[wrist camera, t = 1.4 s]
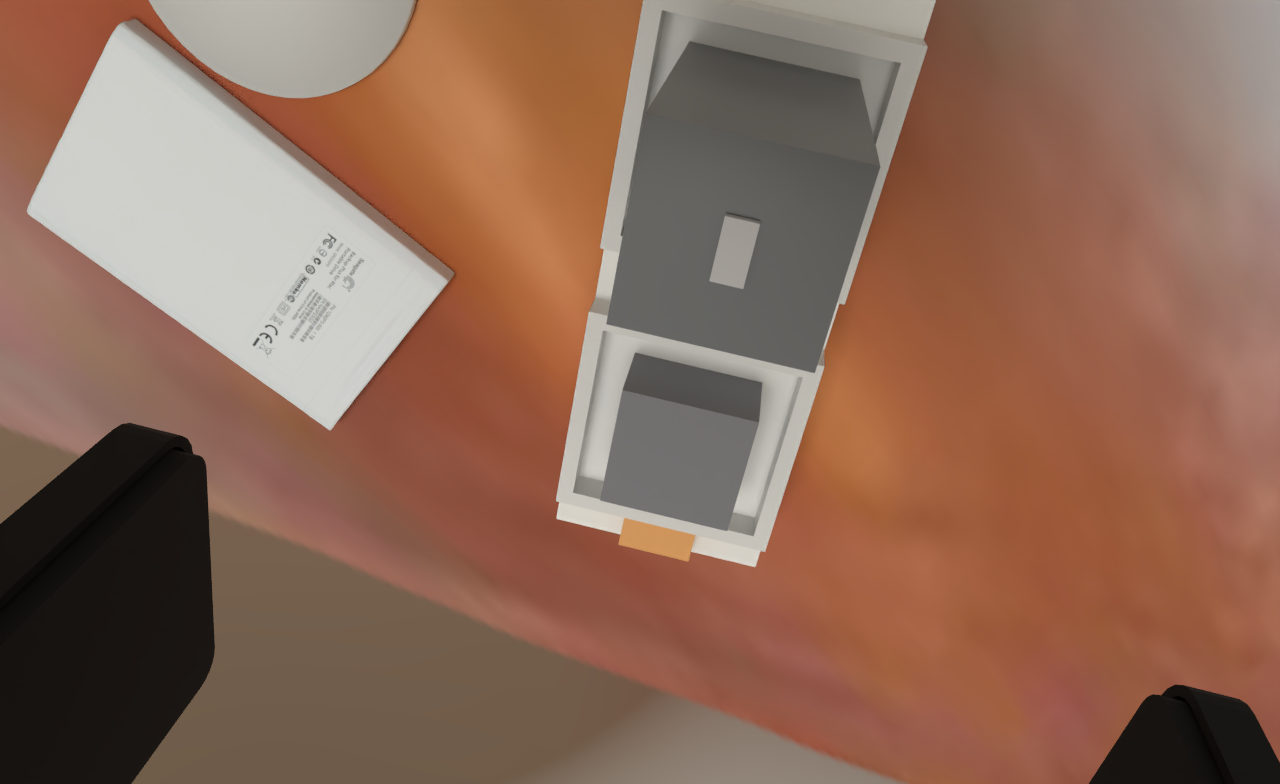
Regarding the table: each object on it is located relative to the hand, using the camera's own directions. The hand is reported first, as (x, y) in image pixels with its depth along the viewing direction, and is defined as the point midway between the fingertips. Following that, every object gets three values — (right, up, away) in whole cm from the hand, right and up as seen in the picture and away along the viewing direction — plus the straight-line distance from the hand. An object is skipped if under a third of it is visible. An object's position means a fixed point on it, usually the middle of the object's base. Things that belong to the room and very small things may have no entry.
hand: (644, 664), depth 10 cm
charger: (+3, +9, +17) cm, 19 cm away
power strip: (+3, +10, +20) cm, 22 cm away
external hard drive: (-13, +8, +24) cm, 29 cm away
